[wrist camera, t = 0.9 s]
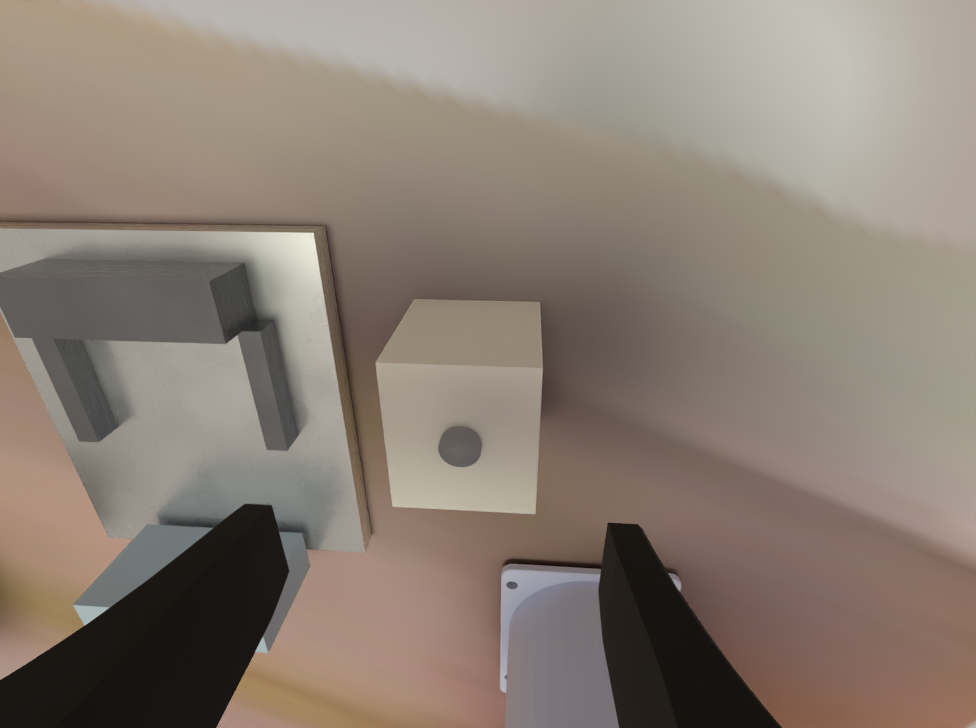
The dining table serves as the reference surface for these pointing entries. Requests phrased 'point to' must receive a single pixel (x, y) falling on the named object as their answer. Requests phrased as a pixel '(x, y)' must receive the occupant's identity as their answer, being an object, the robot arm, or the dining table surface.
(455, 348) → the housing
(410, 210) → the dining table surface
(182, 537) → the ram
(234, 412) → the press frame
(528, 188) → the dining table surface
